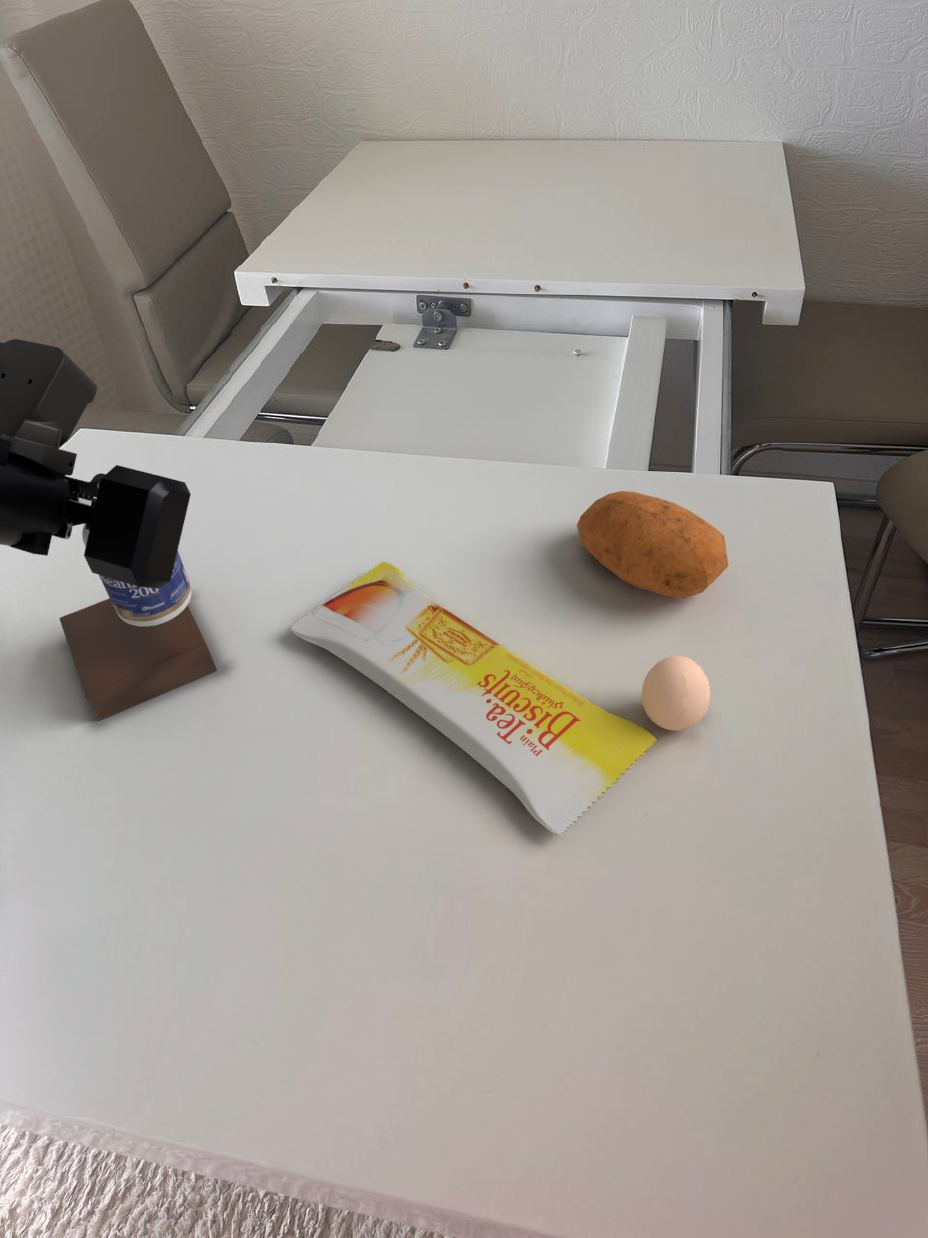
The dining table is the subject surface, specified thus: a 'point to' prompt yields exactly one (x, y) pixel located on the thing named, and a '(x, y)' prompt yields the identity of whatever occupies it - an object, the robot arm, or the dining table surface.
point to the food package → (479, 695)
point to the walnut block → (133, 656)
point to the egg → (676, 693)
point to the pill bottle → (147, 595)
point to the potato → (653, 543)
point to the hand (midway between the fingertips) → (138, 518)
